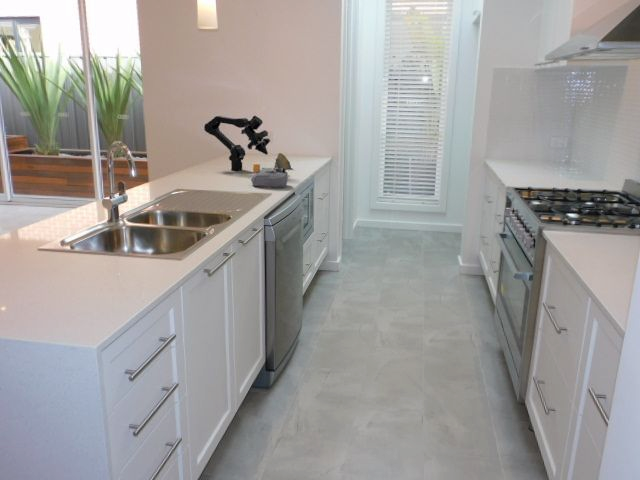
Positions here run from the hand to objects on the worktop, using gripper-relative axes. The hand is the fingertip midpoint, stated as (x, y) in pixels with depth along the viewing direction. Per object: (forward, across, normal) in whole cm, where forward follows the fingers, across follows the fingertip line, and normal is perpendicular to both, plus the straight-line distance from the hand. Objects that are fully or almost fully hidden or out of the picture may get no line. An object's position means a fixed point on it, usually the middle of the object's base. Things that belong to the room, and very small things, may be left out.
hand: (267, 154), depth 344 cm
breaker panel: (+11, +2, +6) cm, 13 cm away
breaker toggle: (+13, 0, -1) cm, 13 cm away
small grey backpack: (+25, -36, -7) cm, 44 cm away
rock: (+7, +24, +10) cm, 27 cm away
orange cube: (+2, +2, +15) cm, 15 cm away
